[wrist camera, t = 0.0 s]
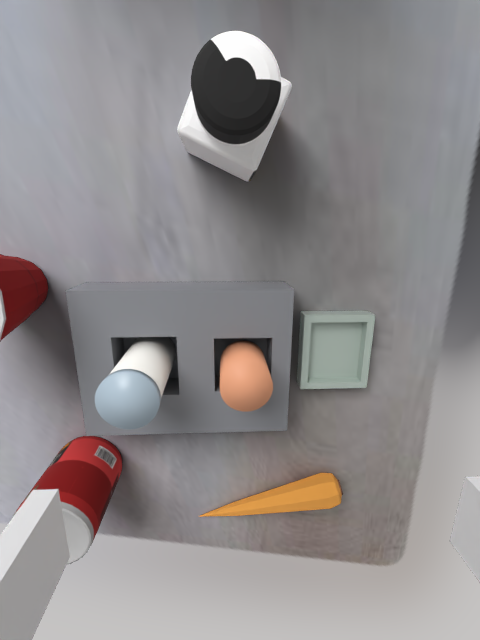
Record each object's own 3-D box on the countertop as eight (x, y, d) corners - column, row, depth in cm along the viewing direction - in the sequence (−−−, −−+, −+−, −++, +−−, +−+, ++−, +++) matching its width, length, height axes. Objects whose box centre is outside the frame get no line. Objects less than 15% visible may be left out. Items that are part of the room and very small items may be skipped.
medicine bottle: (249, 183, 34) (262, 160, 22) (184, 151, 33) (164, 110, 21) (279, 113, 32) (310, 49, 21) (212, 77, 31) (207, -12, 20)
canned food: (60, 430, 41) (3, 502, 30) (125, 436, 41) (92, 508, 31) (60, 481, 43) (7, 565, 32) (123, 486, 43) (91, 569, 33)
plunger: (219, 340, 34) (219, 363, 28) (265, 340, 34) (273, 362, 29) (220, 382, 36) (220, 412, 30) (264, 381, 36) (272, 410, 30)
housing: (86, 282, 36) (65, 290, 31) (284, 281, 37) (294, 289, 32) (102, 411, 40) (86, 436, 35) (279, 406, 41) (287, 430, 36)
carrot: (333, 463, 45) (338, 476, 41) (343, 496, 45) (348, 513, 40) (198, 492, 48) (189, 508, 43) (206, 524, 47) (197, 542, 43)
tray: (300, 311, 38) (304, 315, 36) (367, 310, 38) (375, 315, 36) (296, 381, 40) (300, 389, 39) (359, 380, 41) (366, 387, 39)
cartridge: (128, 331, 37) (91, 373, 26) (175, 330, 37) (157, 372, 26) (132, 373, 38) (98, 430, 27) (177, 373, 38) (160, 428, 28)
